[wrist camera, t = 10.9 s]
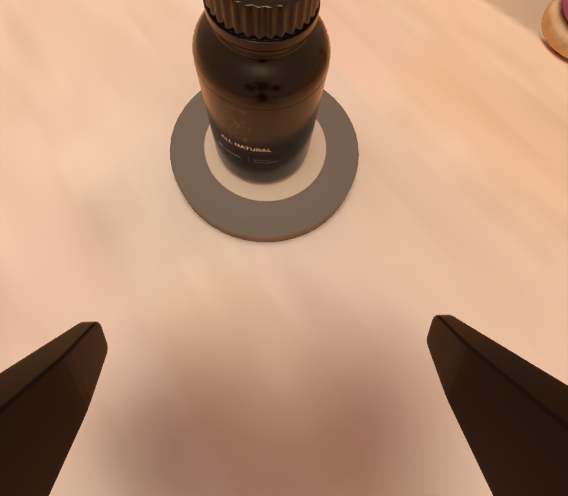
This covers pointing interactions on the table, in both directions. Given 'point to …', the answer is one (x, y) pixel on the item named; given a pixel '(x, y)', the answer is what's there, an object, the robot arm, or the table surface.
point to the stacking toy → (556, 26)
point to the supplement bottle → (261, 81)
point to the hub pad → (273, 195)
